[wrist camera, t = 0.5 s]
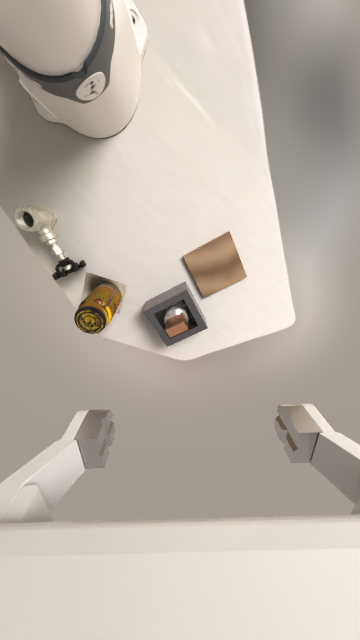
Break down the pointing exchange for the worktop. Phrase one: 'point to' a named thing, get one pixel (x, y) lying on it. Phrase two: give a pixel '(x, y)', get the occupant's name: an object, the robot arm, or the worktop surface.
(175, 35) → the worktop surface
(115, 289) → the condiment
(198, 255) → the board
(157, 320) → the housing
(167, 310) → the plug
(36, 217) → the valve
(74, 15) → the robot arm
